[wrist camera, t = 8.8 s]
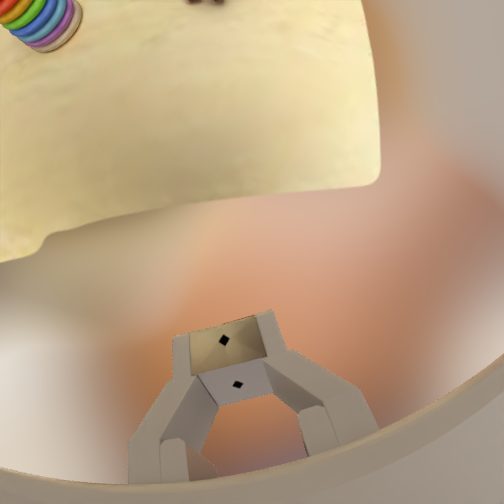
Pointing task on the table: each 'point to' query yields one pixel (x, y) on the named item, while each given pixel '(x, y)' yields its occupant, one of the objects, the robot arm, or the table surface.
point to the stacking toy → (41, 21)
